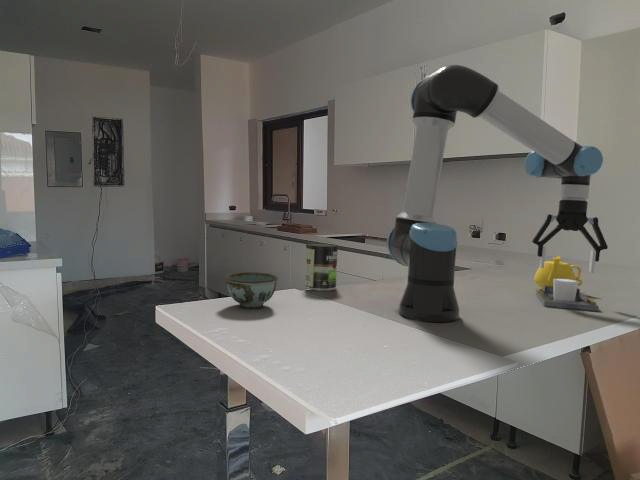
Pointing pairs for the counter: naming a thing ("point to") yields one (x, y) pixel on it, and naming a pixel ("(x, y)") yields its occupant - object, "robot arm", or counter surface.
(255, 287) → the bowl
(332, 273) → the coffee can
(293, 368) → the counter surface
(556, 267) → the teapot
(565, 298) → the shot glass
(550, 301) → the chassis plate
